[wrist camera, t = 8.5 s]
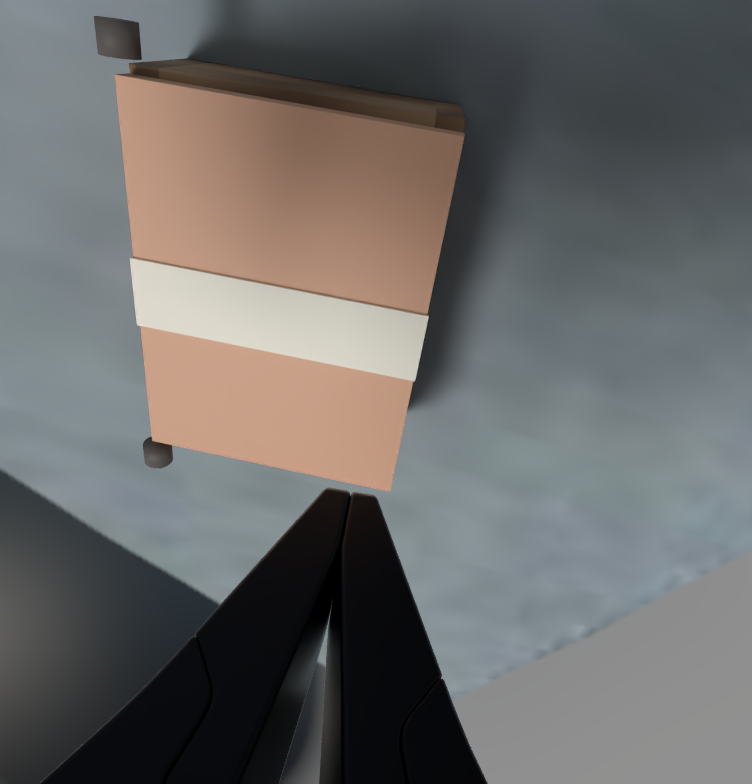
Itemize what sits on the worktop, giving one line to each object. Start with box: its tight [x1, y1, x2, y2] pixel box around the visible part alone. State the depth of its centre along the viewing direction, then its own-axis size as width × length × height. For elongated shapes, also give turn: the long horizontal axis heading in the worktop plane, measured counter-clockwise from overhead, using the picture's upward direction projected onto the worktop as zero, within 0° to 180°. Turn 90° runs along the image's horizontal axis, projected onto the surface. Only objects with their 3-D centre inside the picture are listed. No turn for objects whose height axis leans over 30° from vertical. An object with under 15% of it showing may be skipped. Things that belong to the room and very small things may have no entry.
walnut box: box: [94, 16, 466, 468], centre depth 17 cm, size 8×13×4 cm, turn 172°
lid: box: [115, 73, 465, 492], centre depth 15 cm, size 8×11×1 cm
